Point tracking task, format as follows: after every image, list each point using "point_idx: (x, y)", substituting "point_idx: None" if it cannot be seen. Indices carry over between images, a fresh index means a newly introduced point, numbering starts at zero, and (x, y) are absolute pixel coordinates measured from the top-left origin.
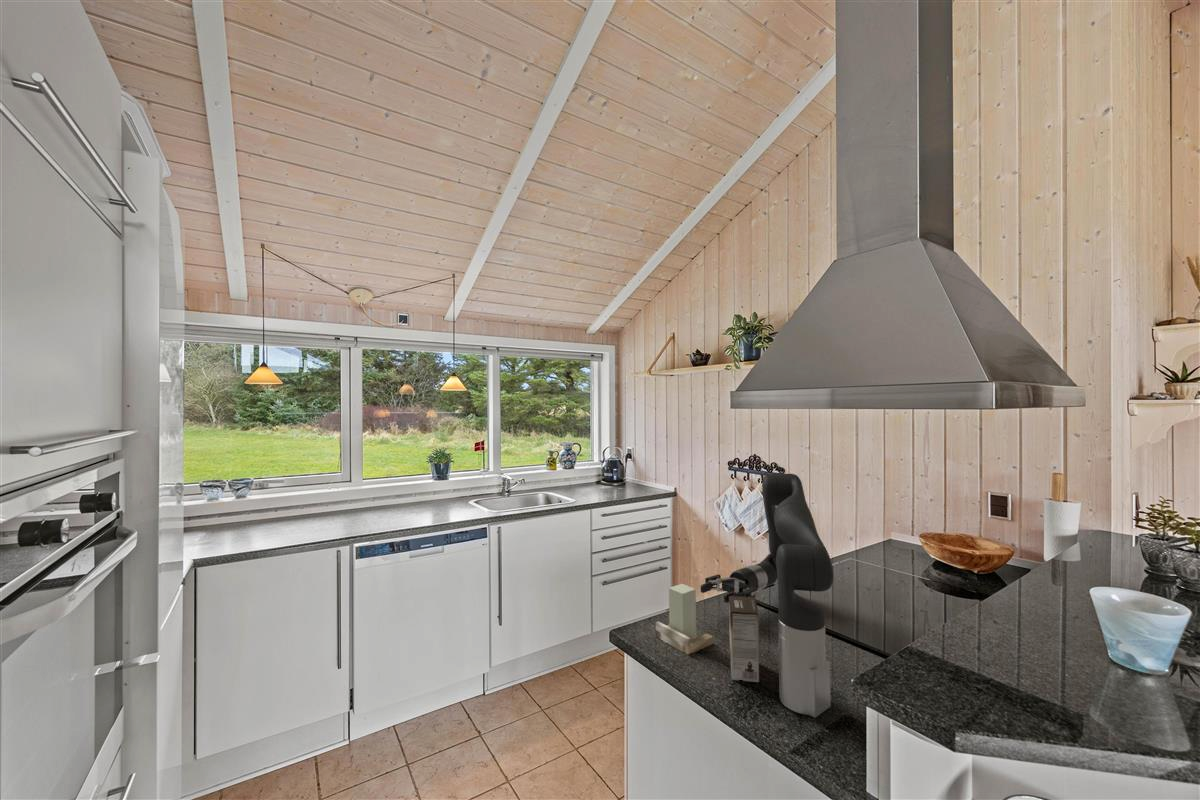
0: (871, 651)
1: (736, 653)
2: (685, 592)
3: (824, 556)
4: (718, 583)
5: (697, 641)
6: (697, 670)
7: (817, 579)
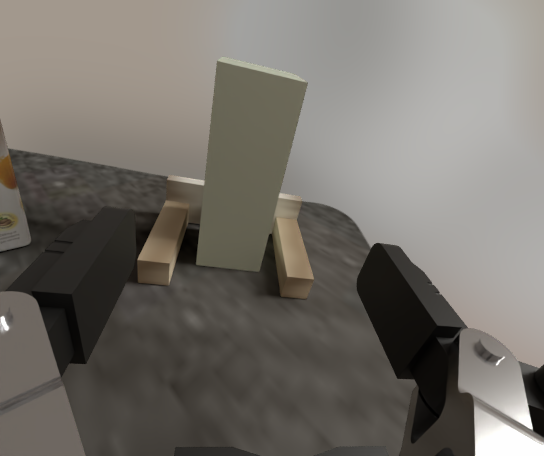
0: None
1: None
2: (223, 57)
3: None
4: (443, 438)
5: (165, 218)
6: (111, 189)
7: None
